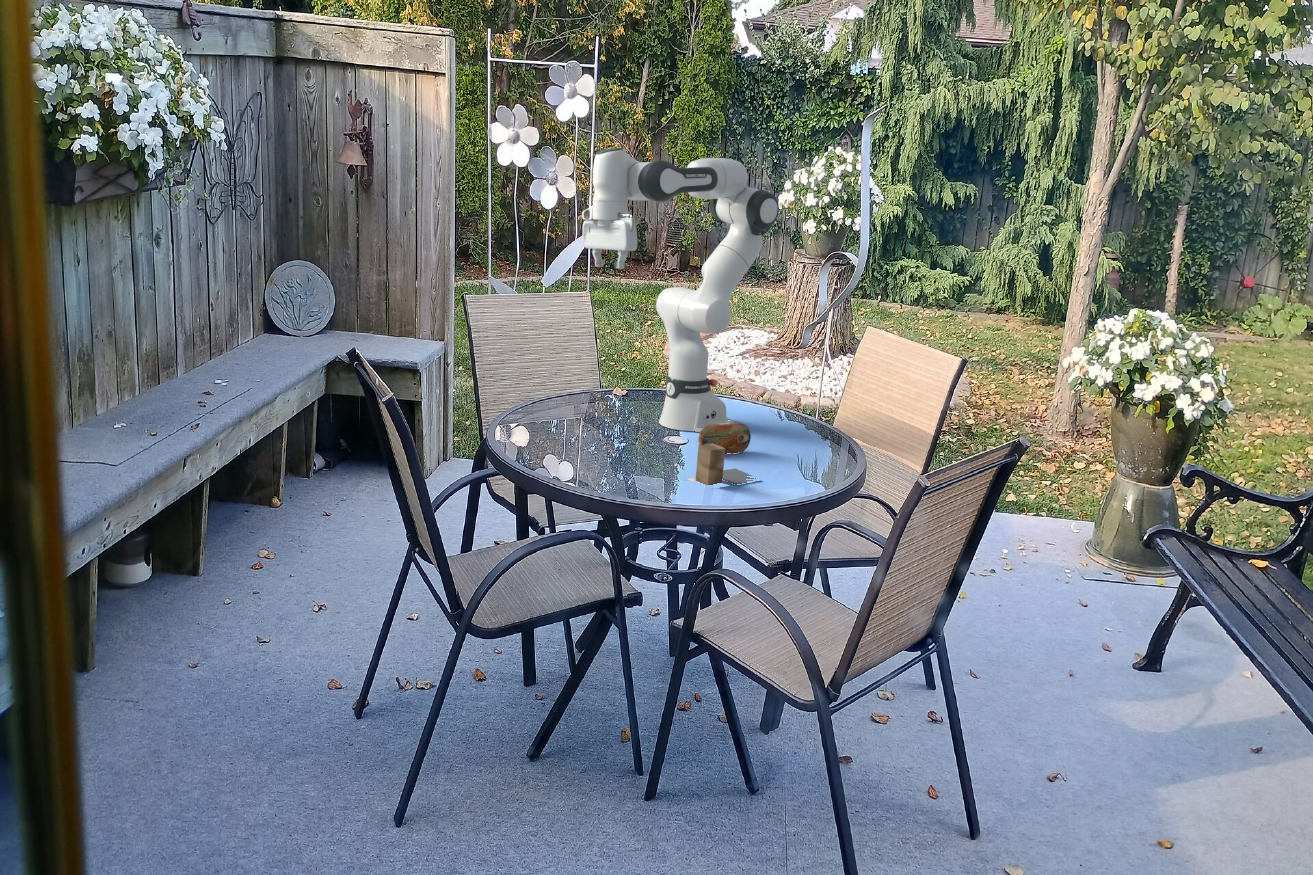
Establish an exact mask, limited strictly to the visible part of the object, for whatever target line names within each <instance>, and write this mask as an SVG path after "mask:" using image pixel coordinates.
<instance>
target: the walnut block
mask: <svg viewBox="0 0 1313 875" xmlns="http://www.w3.org/2000/svg"><path fill="white" fill-rule="evenodd" d="M696 460H697V461H696V469H695V470H696V471H695V477H696V480H695V481H698V482H700V483H703V484H705V485H713V484H717V483H722V482H723V480H722V478H723V470H724V465H725V448H723V447H721V446H718V445H716V444H706V445H699V444H698V446H697V458H696Z"/></svg>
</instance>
